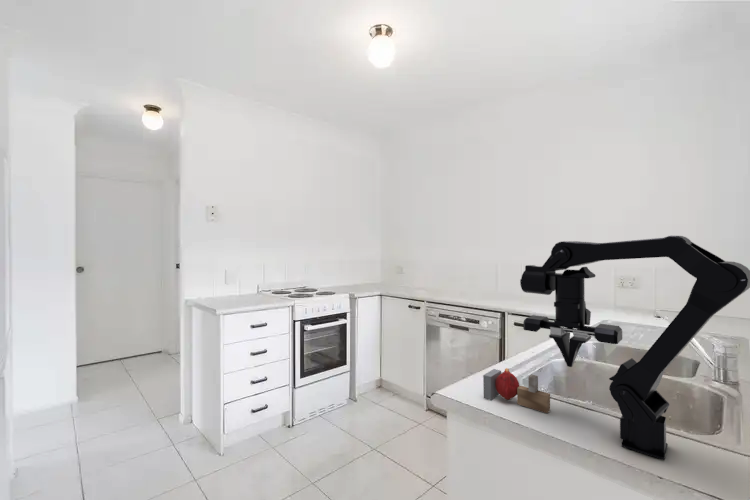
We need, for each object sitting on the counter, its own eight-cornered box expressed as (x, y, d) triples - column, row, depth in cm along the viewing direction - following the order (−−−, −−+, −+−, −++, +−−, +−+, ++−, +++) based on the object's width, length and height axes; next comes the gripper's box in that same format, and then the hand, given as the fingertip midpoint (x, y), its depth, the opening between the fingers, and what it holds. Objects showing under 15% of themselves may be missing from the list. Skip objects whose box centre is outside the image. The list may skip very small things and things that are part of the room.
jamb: (501, 393, 93) (501, 370, 93) (490, 400, 89) (490, 376, 89) (494, 390, 94) (493, 368, 94) (483, 398, 90) (483, 375, 90)
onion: (524, 404, 86) (523, 372, 86) (501, 405, 86) (501, 373, 86) (512, 394, 92) (512, 364, 92) (491, 395, 91) (491, 365, 91)
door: (550, 410, 83) (550, 378, 82) (547, 413, 81) (547, 381, 81) (520, 401, 87) (520, 371, 87) (517, 404, 86) (517, 373, 86)
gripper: (627, 296, 77) (627, 366, 78) (539, 290, 91) (539, 350, 91) (616, 303, 70) (617, 381, 70) (522, 295, 83) (522, 360, 83)
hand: (570, 366), depth 78 cm, fingers closed
